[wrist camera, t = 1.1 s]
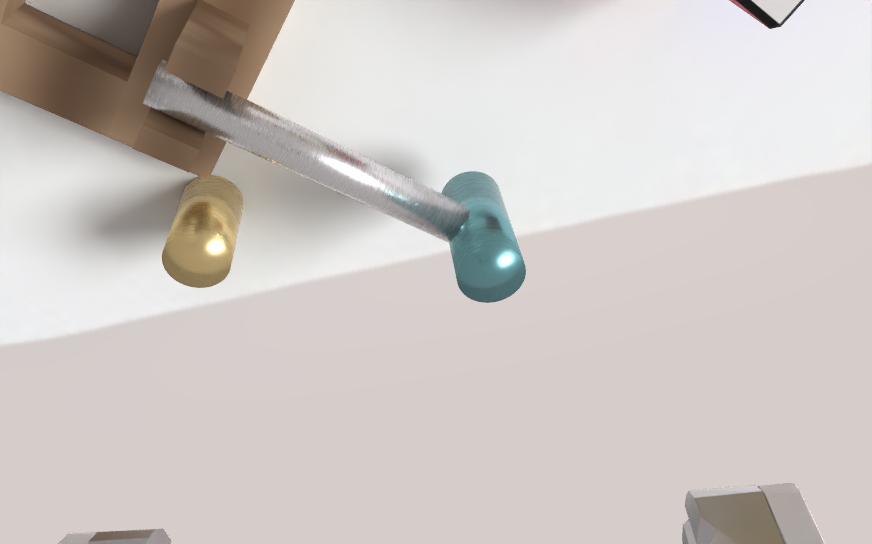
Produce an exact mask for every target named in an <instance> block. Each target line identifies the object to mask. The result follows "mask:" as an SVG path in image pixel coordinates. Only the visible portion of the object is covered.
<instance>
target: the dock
mask: <svg viewBox="0 0 872 544" xmlns="http://www.w3.org/2000/svg"><path fill="white" fill-rule="evenodd" d="M294 1H295V0H159V2H158V4H157V7H156V10H155V12H154V15H153V17H152V20H151V22H150V25H149V28H148V30H147V33H146V35H145V38H144V41H143V43H142V46H141V48H140V51H139V54H138V56H137V57H136V56H134V55H131V54H129V53H127V52H125V51H123V50H121V49H119V48H117V47H115V46H113V45H111V44H108V43H106V42H104V41H102V40H100V39H98V38H96V37H94V36H92V35H90V34H87V33H85V32H83V31H81V30H79V29H77V28H75V27H73V26H71V25H69V24H66V23H64V22H62V21H60V20H58V19H56V18H54V17H52V16H50V15H48V14H46V13H43V12H41V11H39V10H37V9H35V8H33V7H31V6H29V5H27V4H25V0H0V90H1V91H3V92H5V93H8V94H10V95H12V96H15V97H17V98H19V99H22V100H24V101H26V102H28V103H31V104H33V105H35V106H38V107H40V108H42V109H45V110H47V111H49V112H52V113H54V114H56V115H59V116H61V117H63V118H66V119H68V120H70V121H73V122H75V123H77V124H80V125H82V126H84V127H87V128H89V129H91V130H94V131H96V132H98V133H101V134H103V135H105V136H108V137H110V138H112V139H115V140H117V141H119V142H122V143H124V144H126V145H129V146H131V147H133V149H136V150H138V151H140V152H143V153H145V154H147V155H150V156H152V157H154V158H157V159H159V160H161V161H164V162H166V163H168V164H171V165H173V166H175V167H178V168H180V169H182V170H185V171H187V172H191V173H194V174H196V175H198V176H201V177H203V178H205V179H209V177H210V175H211V173H212V171H213V168H214V166H215V164H216V162H217V160H218V158H219V156H220V154H221V152H222V150H223V148H224V146H225V144H226V141H224V140H222V139H220V138H218V137H215V136H213V135H211V134H209V133H207V132H204V131H202V130H200V129H198V128H196V127H193V126H191V125H189V124H187V123H185V122H182V121H180V120H178V119H176V118H174V117H171V116H169V115H167V114H165V113H163V112H160V111H158V110H156V109H154V108H152V107H149V106H147V105H145V104H143V102H144V99H145V96H146V94H147V91H148V89H149V86H150V84H151V82H152V79H153V77H154V75H155V72H156V70H157V68H158V66H159V64H160V62H161V60H162V59H163V60H165V61H167V62H168V63H167V65H166V68H165V70H164V71H166V72H168V73H170V74H172V75H174V76H176V77H178V78H180V79H182V80H184V81H187V82H189V83H191V84H193V85H195V86H197V87H199V88H201V89H203V90H205V91H208V92H210V93H212V94H214V95H216V96H218V97H220V98H222V99H223V98H224V96H225V94H226V91H230V92H232V93H234V94H236V95H238V96H240V97H242V98H244V99H246V100H247V98H248V96H249V94H250V92H251V90H252V88H253V86H254V84H255V81H256V79H257V77H258V75H259V73H260V71H261V69H262V67H263V65H264V63H265V61H266V59H267V57H268V54H269V52H270V50H271V48H272V46H273V44H274V42H275V40H276V38H277V36H278V34H279V32H280V30H281V28H282V25H283V23H284V21H285V19H286V17H287V15H288V13H289V11H290V9H291V7H292V5H293V3H294Z"/></svg>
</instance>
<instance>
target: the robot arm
mask: <svg viewBox="0 0 872 544" xmlns="http://www.w3.org/2000/svg"><path fill="white" fill-rule="evenodd" d="M685 507H686V511H687V514H688V517H689V519H688V520H687V521H686V522H685V523H684V524H683V534H682V541H683V544H825V541H824V539H823V537H822V535H821V533H820V531H819V529H818V527H817V525H816V523H815V520H814V518H813V516H812V514H811V512H810V510H809V508H808V506H807V504H806V501H805V500H804V497H803V495H802V493H801V491H800V489H799V488H797V487H796V485H795V484H792V483H785V484H775V485H763V486H756V485H749V486H737V487H725V488H714V489H702V490H691V491H688V493H687V494H686V501H685ZM170 543H171V540H170V538H169V537H168V535H167V534H166V532H165V531H164V529H150V530H149V529H148V530H131V531H130V530H129V531H110V532H90V533H75V534H67V535H66V536H65V537H64V538H63V539H62V540H61V541H60V542H59V543H58V544H170Z"/></svg>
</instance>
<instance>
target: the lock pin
mask: <svg viewBox="0 0 872 544" xmlns="http://www.w3.org/2000/svg"><path fill="white" fill-rule="evenodd" d="M167 63H168V62H167V61H165V60H163V59H162V60H161V62H160V64H159V66H158V68H157V70H156V72H155V75H154V77H153V79H152V82H151V84H150V86H149V89H148V91H147V94H146V96H145V99H144V102H143V104H145V105H147V106H149V107H152V108H154V109H156V110H158V111H160V112H163V113H165V114H167V115H169V116H171V117H174V118H176V119H178V120H180V121H182V122H185V123H187V124H189V125H191V126H193V127H196V128H198V129H200V130H202V131H204V132H207V133H209V134H211V135H213V136H215V137H218V138H220V139H222V140H224V141H226V142H229V143H231V144H233V145H235V146H237V147H240V148H242V149H244V150H246V151H248V152H251V153H253V154H255V155H257V156H259V157H262V158H264V159H266V160H268V161H271V162H273V163H275V164H277V165H279V166H282V167H284V168H286V169H288V170H290V171H293V172H295V173H297V174H299V175H301V176H304V177H306V178H308V179H310V180H312V181H315V182H317V183H319V184H321V185H323V186H326V187H328V188H330V189H332V190H334V191H337V192H339V193H341V194H343V195H345V196H348V197H350V198H352V199H354V200H356V201H359V202H361V203H363V204H365V205H367V206H370V207H372V208H374V209H376V210H378V211H381V212H383V213H385V214H387V215H389V216H392V217H394V218H396V219H398V220H400V221H403V222H405V223H407V224H409V225H411V226H414V227H416V228H418V229H420V230H422V231H425V232H427V233H429V234H431V235H433V236H436V237H438V238H440V239H442V240H444V241H447V242H449V244H450V249H451V253H452V258H453V263H454V268H455V273H456V278H457V282H458V286H459V288H460V290H461V291H462V292H463V293H464V294H465V295H466V296H467V297H469V298H470V299H472V300H475V301H478V302H486V303H489V302H496V301H500V300H503V299H505V298H507V297H509V296H511V295H512V294H514V293H515V292H516V291H517V290H518V289H519V288H520V286H521V285H522V283H523V281H524V278H525V274H526V269H525V264H524V261H523V258H522V255H521V252H520V249H519V247H518V244H517V241H516V238H515V235H514V232H513V229H512V226H511V223H510V220H509V217H508V214H507V211H506V208H505V205H504V202H503V199H502V196H501V193H500V191H499V188H498V185H497V184H496V182H495V181H494V180H493V179H492V178H491V177H490V176H488V175H486V174H484V173H481V172H465V173H461V174H459V175H457V176H455V177H453V178H452V179H451V180H450V181H449V182H448V183H447V184H446V185H445V187H444V189H443V191H442V194H441V193H439V192H437V191H435V190H433V189H431V188H429V187H427V186H425V185H422V184H420V183H418V182H416V181H414V180H412V179H410V178H408V177H406V176H404V175H402V174H400V173H398V172H396V171H393V170H391V169H389V168H387V167H385V166H383V165H381V164H379V163H377V162H375V161H373V160H371V159H369V158H366V157H364V156H362V155H360V154H358V153H356V152H354V151H352V150H350V149H348V148H346V147H344V146H342V145H340V144H337V143H335V142H333V141H331V140H329V139H327V138H325V137H323V136H321V135H319V134H317V133H315V132H313V131H310V130H308V129H306V128H304V127H302V126H300V125H298V124H296V123H294V122H292V121H290V120H288V119H286V118H283V117H281V116H279V115H277V114H275V113H273V112H271V111H269V110H267V109H265V108H263V107H261V106H259V105H257V104H254V103H252V102H250V101H248V100H246V99H244V98H242V97H240V96H238V95H236V94H234V93H232V92H230V91H226V94H225V96H224V98H223V99H222V98H220V97H218V96H216V95H214V94H212V93H210V92H208V91H205V90H203V89H201V88H199V87H197V86H195V85H193V84H191V83H189V82H187V81H184V80H182V79H180V78H178V77H176V76H174V75H172V74H170V73H168V72H166V71H164V70H165V68H166V65H167Z"/></svg>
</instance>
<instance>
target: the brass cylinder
mask: <svg viewBox="0 0 872 544" xmlns="http://www.w3.org/2000/svg"><path fill="white" fill-rule="evenodd" d="M242 209H243V198H242V195H241V193H240V191H239V190H238V188H237V187H236V186H235V185H234V184H233V183H231V182H230V181H228V180H226V179H224V178H222V177H218V176H211V175H210V177H209V179H205V178H203V177H198V178H195V179H193V180H192V181H191V182H189V183H188V184H187V186H186V187H185V189H184V191H183V194H182V197H181V200H180V203H179V206H178V209H177V212H176V215H175V218H174V221H173V224H172V226H171V229H170V232H169V235H168V238H167V241H166V244H165V247H164V250H163V253H162V262H163V266H164V268H165V270H166V271H167V273H168V274H169V275H170V276H171V277H172V278H173V279H175V280H176V281H178V282H179V283H181V284H184V285H187V286H190V287H197V288H204V287H210V286H213V285H216V284H218V283H220V282H221V281H222V280H224V279H225V277H226V276H227V275H228V273H229V271H230V267H231V262H232V257H233V253H234V248H235V243H236V238H237V233H238V228H239V224H240V219H241V214H242Z"/></svg>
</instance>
